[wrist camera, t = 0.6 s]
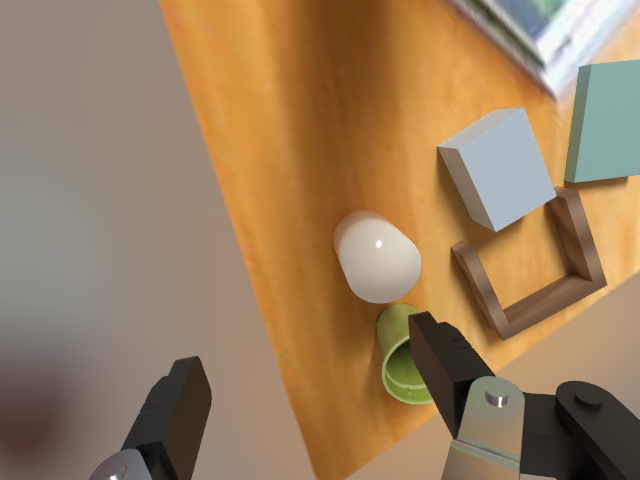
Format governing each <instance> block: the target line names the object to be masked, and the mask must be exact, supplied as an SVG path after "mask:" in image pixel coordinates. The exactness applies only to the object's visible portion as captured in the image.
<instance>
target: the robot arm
mask: <svg viewBox="0 0 640 480" xmlns="http://www.w3.org/2000/svg"><path fill="white" fill-rule="evenodd" d="M408 327H409V338H410V349H411V354H412V358H413V361H414V363H415V366H416V368H417V369H418V371H419V373H420V375H421V377H422V379H423V381H424V383H425V385H426V387H427V389H428V391H429V393H430V394H431V396H432V398H433V400H434V402H435V404H436V406H437V408H438V410H439V412H440V414H441V416H442V418H443V419H444V421H445V423H446V425H447V427H448V429H449V431H450V433H451V435H452V437H453V440H452V442H451V445H450V449H449V453H448V456H447V460H446V464H445V467H444V471H443V475H442V479H441V480H520V473H521V474H529V475H537V476H545V477H554V478H556V479H557V480H640V420H639V419H638V418H637V417H636V416H635V415H634V414H633V413H632V412H630V411H629V410H628V409H627V408H626V407H625V406H624V405H623V404H622V403H621V402H620V401H618V400H617V399H616V398H615V397H614V396H613V395H612V394H610V393H609V392H608V391H606V390H604V389H603V388H601V387H599V386H596V385H594V384H590V383H587V382H582V381H568V382H564V383H562V384H561V385H559V386H558V388H557V390H556V395H547V394H532V393H525V392H522V391H521V390H520V389H519V388H518V387H517V386H516V385H514V384H513V383H511V382H510V381H508V380H505V379H502V378H499V377H496V376H495V374H494V373H493V372H492V371H491V369H490V368H489V367H488V366H487V364H486V363H485V362H484V361H483V360H482V358H481V357H480V356H479V355H478V353H477V352H476V351H475V350H474V348H472V347H471V345H470V344H469V342H468V341H467V340H465V337H464V336H463V335H462V334H461V332H460V331H459V330H458V329H457V328H455V327H454V326H452V325H450V324H449V323H447V322H441V323H437V322H436V321H435V319H434V318H433V316H432V315H431V314H430V313H429V312H428V311H426V312H421V313H416V314H411V315H408ZM211 400H212V396H211V389H210V385H209V383H208V380H207V377H206V374H205V371H204V369H203V366H202V363H201V360H200V358H199V357H198V356H194V357H189V358H183V359H178V360H176V361H175V362H174V364H173V366H172V368H171V371H170V373H169V375H168V376H164V377H162V378H161V379H160V380H159V381H158V382H157V383H156V384H155V385H154V386H153V387H152V389H151V391H150V393H149V395H148V397H147V398H146V401H145V403H144V404H143V406H142V409H141V410H140V414H138V416H137V418H136V420H135V422H134V424H133V426H132V428H131V430H130V432H129V434H128V436H127V438H126V440H125V442H124V444H123V446H122V448H121V450H120V451H119V452H117V453H115V454H113V455H111V456H110V457H108V458H107V459H106V460H104V461H103V462H102V463H101V464H100V465H99V466H98V467H97V468H96V469H95V470H94V472H93V473H92V474H91V476H90V478H89V480H191V478H192V474H193V470H194V467H195V463H196V459H197V455H198V452H199V448H200V444H201V440H202V437H203V433H204V429H205V425H206V422H207V418H208V414H209V411H210V407H211Z"/></svg>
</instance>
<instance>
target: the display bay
mask: <svg viewBox="0 0 640 480" xmlns="http://www.w3.org/2000/svg"><path fill="white" fill-rule="evenodd" d="M554 190H555V193H556V197H555V198H553V199H551V200H549V201H548V202H549V205H550V208H551V211H552V214H553V217H554V219H555V222H556V225H557V228H558V231H559V234H560V236H561V239H562V242H563V245H564V248H565V251H566V254H567V256H568V259H569V262H570V265H571V268H572V271H573V272H572V273H570V274H568V275H566V276H564V277H562V278H561V279H559V280H557V281H555V282H553V283H551V284H550V285H548V286H546V287H544V288H542V289H541V290H539V291H537V292H535V293H533V294H531V295H530V296H528V297H526V298H524V299H522V300H520V301H519V302H517V303H515V304H513V305H511V306H509V307H508V308H506V309H504V310H502V307H501V305H500V303H499V301H498V299H497V297H496V294H495V292H494V290H493V288H492V286H491V283H490V281H489V279H488V277H487V275H486V273H485V270H484V268H483V266H482V264H481V262H480V259H479V257H478V255H477V253H476V251H475V249H473V248H472V247H470V246H469V245H467V244H466V243H464V242H463V241H461V242H459V243H457V244H455V245H454V246H452V247H451V249H452V251H453V253H454V255H455V257H456V259H457V261H458V264H459V266H460V268H461V270H462V272H463V274H464V276H465V278H466V280H467V282H468V284H469V286H470V288H471V290H472V292H473V294H474V296H475V299H476V301H477V303H478V305H479V307H480V309H481V311H482V313H483V315H484V317H485V319H486V321H487V323H488V325H489V327H490V328H491V329H492V330H493V331H494V332H495V333H496V334H497V335H498V336H499V337H500V338H501V339H502V340H503V341H505V340H506V339H508V338H510V337H512V336H514V335H516V334H518V333H519V332H521V331H523V330H525V329H527V328H529V327H531V326H532V325H534V324H536V323H538V322H540V321H542V320H544V319H545V318H547V317H549V316H551V315H553V314H555V313H557V312H558V311H560V310H562V309H564V308H566V307H568V306H570V305H571V304H573V303H575V302H577V301H579V300H581V299H583V298H584V297H586V296H588V295H590V294H592V293H594V292H596V291H597V290H599V289H601V288H603V287H605V286H607V282H606V279H605V276H604V272H603V269H602V266H601V263H600V260H599V256H598V253H597V250H596V247H595V244H594V241H593V237H592V234H591V231H590V228H589V225H588V221H587V218H586V215H585V212H584V209H583V205H582V202H581V199H580V196H579V193H578V191H576V190H572V189H567V188H562V187H558V186H557V187H555V188H554Z"/></svg>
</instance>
